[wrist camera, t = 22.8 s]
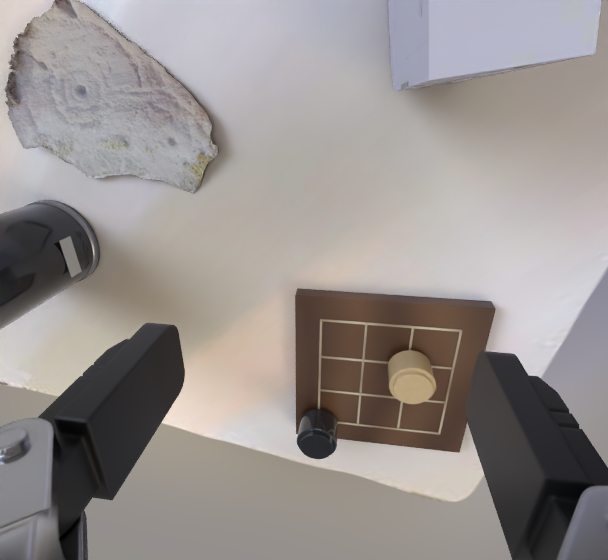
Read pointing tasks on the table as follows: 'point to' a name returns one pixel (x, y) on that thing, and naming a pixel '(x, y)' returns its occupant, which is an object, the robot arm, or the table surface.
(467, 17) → the game console
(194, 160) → the decorative stone
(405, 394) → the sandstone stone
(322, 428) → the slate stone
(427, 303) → the board
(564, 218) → the table surface
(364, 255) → the table surface
